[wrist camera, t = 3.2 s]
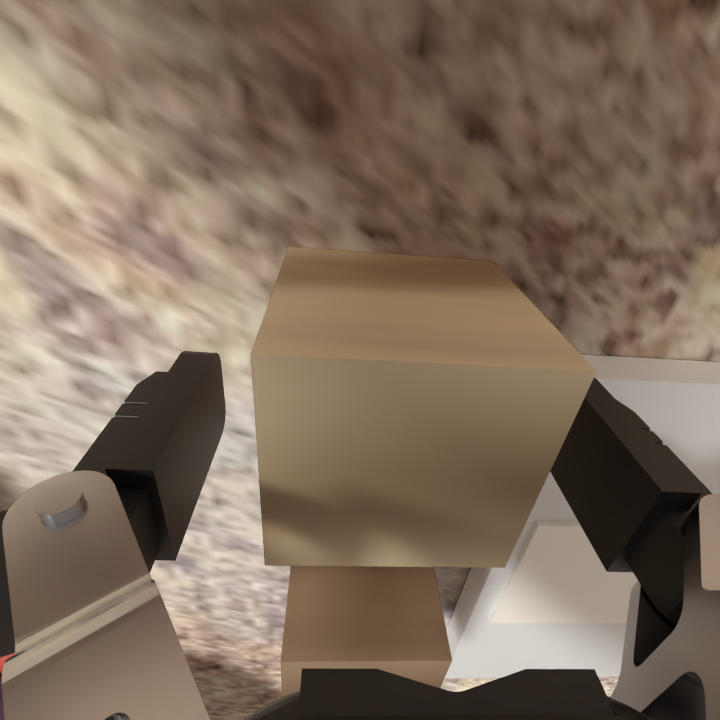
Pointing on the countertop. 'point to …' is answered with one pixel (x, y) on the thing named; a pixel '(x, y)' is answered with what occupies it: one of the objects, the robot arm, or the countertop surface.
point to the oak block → (405, 410)
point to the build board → (581, 543)
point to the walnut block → (364, 623)
